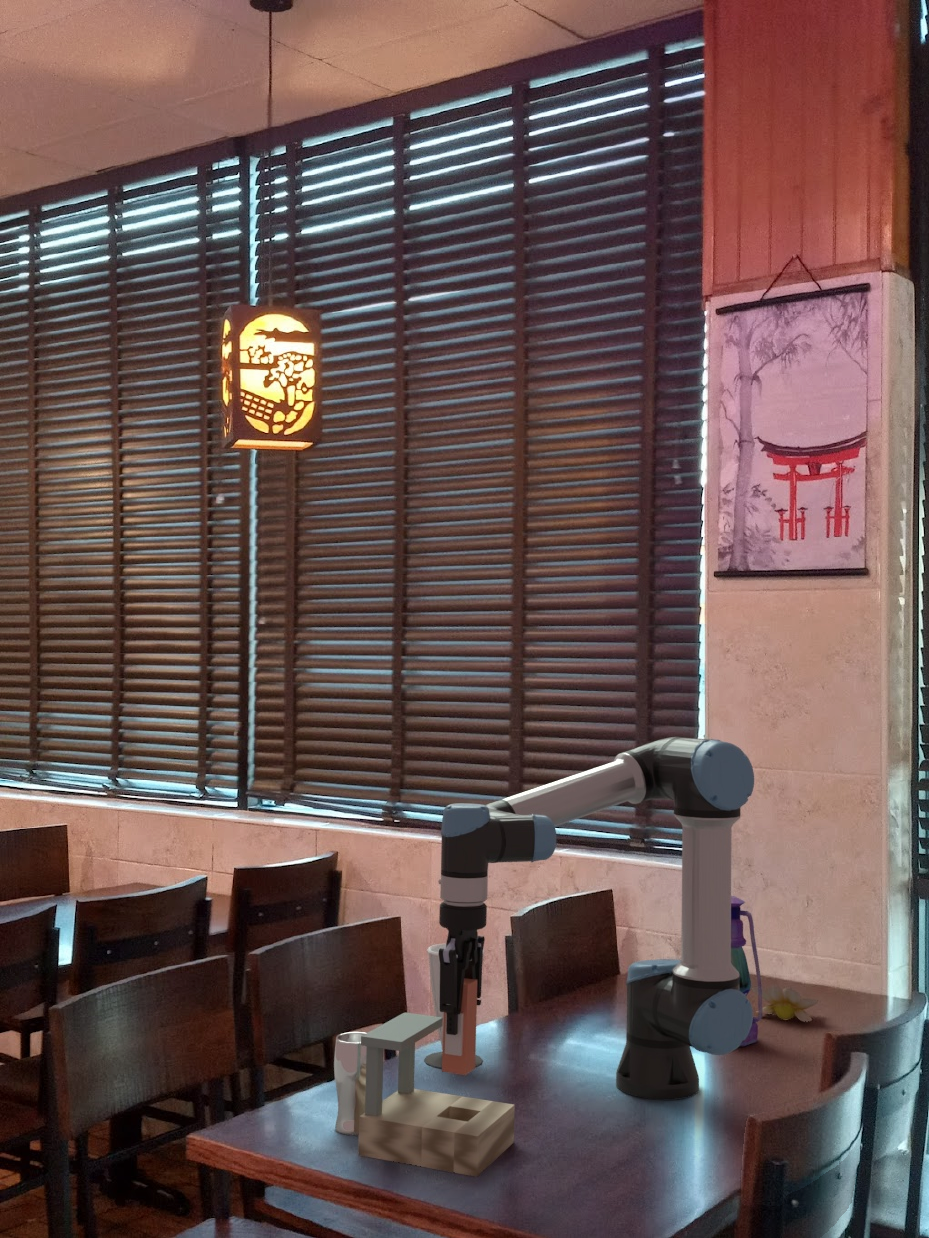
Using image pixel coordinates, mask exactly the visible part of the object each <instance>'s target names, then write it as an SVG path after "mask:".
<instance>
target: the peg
mask: <svg viewBox="0 0 929 1238" xmlns="http://www.w3.org/2000/svg"><path fill="white" fill-rule="evenodd" d="M477 1000H478V998H477V980H476V979H467V978H464V984H463V996H462V1006H461V1013H464V1014H463V1052H462V1055H461V1056H457V1055H450V1054H445V1027H446V1012H444V1016H443V1050H442V1052H443V1053H442V1069H441V1072H444V1073H449V1074H455V1075H463V1076H467V1075H468V1074H469V1073H470V1072H472V1071H474V1070H475V1069H476V1067H475V1055H476V1045H477V1010H478V1009H477V1007H478V1005H477Z"/></svg>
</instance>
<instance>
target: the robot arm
mask: <svg viewBox="0 0 929 1238" xmlns="http://www.w3.org/2000/svg"><path fill="white" fill-rule="evenodd" d="M754 773H755V772H754V769H753V765H752V761H751V760H750V759H749V757H748V755H747V754H746V753H745V752H744V751H743V750H742V749H741V748H740V747H738V746H737V745H735V744H733V743H731V742H727V741H722V740H720V739H714V738H711V739H710V738H693V737H686V736H685V737H684V736H672V737H666V738H661V739H658V740H655V741H652V742H648V743H645V744H643V745H640V746H637V747H635V748H632V749H629V750H627V751H626V750H625V751H623V752H621V753H618V754H617V755H616V756H614V759H613V761H610V762H609V763H606V764H605V763H604V764H603V765H600V766H597V767H593V768H590V769H588V770H584V771H581V772H579V773H576V774H573V775H570V776H567V777H564V778H561V779H559V780H556V781H553V782H549V783H547V784H543V785H540V786H537V787H534V788H532V789H528V790H526V791H523V792H520V793H517V794H514V795H511V796H508V797H506V798H503V799H499V800H496V801H493V802H490V803H487V804H482V803H481V804H480V803H471V802H470V803H462V802H461V803H460V802H459V803H451V804H448V805H446V806H445V807H444V809H443V811H442V813H443V814H442V820H441V830H440V836H441V846H440V847H441V853H440V855H441V856H440V878H439V880H438V884H439V885H440V893H439V894H440V899H441V900H442V902H441V903H440V904H439V920H438V921H439V922H438V923H439V925H440V927H442V928H444V929H446V930H447V932H448V933H447V938H446V942H445V943H446V948H445V949H442V948H440V949H439V960H440V1012H446V1027H445V1054H450V1055H457V1056H461V1055H462V1052H463V1014H464V1013H461V1006H462V996H463V984H464V978H467V979H476V980H477V1006H481V1004H482V999H481V997H482V982H483V981H482V977H483V964H482V959H483V960H484V954H483V949H484V945H485V940H486V939H485V936H484V935H483V936H482V935H479V933H478V930H483V929H484V928H485V927H486V926H487V917H488V916H487V914H488V913H487V912H488V911H487V909H488V908H487V907H488V906H487V905H486V903H485V902H486V901H487V900H488V888H489V887H488V886H489V885H488V882H489V880H488V877H489V875H488V873H489V872H488V871H489V864H496V863H520V862H521V863H523V862H525V863H526V862H528V863H529V862H530V863H534V862H538V861H546V860H549V859H550V858H551V857H552V856H553V854H554V853H555V850H556V847H557V830H556V827H558V826H562V825H564V824H566V823H570V822H572V821H574V820H578V819H581V818H584V817H587V816H589V815H591V814H595V813H598V812H601V811H604V810H606V809H610V808H612V807H616V806H617V805H620V804H623V803H626V802H629V803H630V804H633V805H637V804H640V803H643V802H646V801H651V800H667V801H668V800H669V801H673V817H674V818H675V819H676V820H678V821H679V823H680V824H681V827H682V828H681V830H682V832H681V833H682V834H681V835H682V836H681V838H682V841H681V843H682V845H681V859H682V860H681V947H680V948H681V949H680V950H681V952H680V955H681V957H680V958H681V959H673V958H671V959H668V958H664V959H663V958H661V959H644V960H639V961H635V962H633V963H631V964H630V965H629V966H628V970H627V978H626V982H625V984H626V1036H625V1037H626V1039H625V1040H626V1041H625V1045H624V1048H623V1052H622V1054H621V1058H620V1060H619V1064H618V1067H617V1069H616V1073H615V1077H616V1078H615V1086H616V1087H617V1088H618V1089H619V1090H621V1091H622V1092H623V1093H626V1094H629V1095H631V1096H633V1097H634V1096H635V1097H639V1098H643V1099H650V1100H651V1099H652V1100H662V1101H664V1100H667V1101H670V1100H681V1099H686V1098H690V1097H693V1096H695V1095H696V1094H698V1093H699V1091H700V1076H699V1073H698V1070H697V1065H696V1063H695V1059H694V1057H693V1053H692V1049H691V1047H692V1048H693V1049H695V1051H696V1050H697V1051H698V1052H701V1053H706V1054H711V1055H713V1056H722V1055H723V1056H725V1055H727V1054H730V1053H731V1052H734V1051H735V1050H737V1049H739V1047H741V1046H740V1044H741V1042H742V1041H743V1040H745V1039H746V1037H747V1036H748V1034H749V1031H750V1029H751V1026H752V1021H753V1017H754V1012H753V1011H754V1010H753V1006H752V1004H751V1001H750V999H748V997H747V996H745V995H744V994H743V993H742V992H741V991H739V972H738V971H737V970H736V969H735V968H734V966H733V965H732V964H731V896H732V832H733V831H732V829H733V826H734V824H735V823H737V821H739V820H740V819H741V808H742V807H743V806H744V805H745V804H747V802H748V801H749V797H751V796H752V794H753V791H754V787H755V774H754Z"/></svg>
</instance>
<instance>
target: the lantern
mask: <svg viewBox="0 0 929 1238" xmlns="http://www.w3.org/2000/svg"><path fill="white" fill-rule="evenodd" d="M743 904H746V901H744V900H742V899H741V898H739V897H737V896H734V895H731V964H732V965H733V966H734V968H735V969H736V970H737V971H738V972H739V991H741V992H742V993H743V994H744V995H745V996H746V997H747V996H748V994H749V992H750V991H751V988H752V981H751V976H750V971H749V966H748V961H747V957H746V953H745V951H744V949H743V948H744V947H745V946H746V945H747V940H746V938H744V922H743V920H742V919H741V916H743V917H747V920H748V925H749V934H750V935H749V936H750V942H751V949H752V950H751V951H752V955H753V961H754V965H755V973H756V981H757V986H758V995H757V996H758V997H757V998H758V999H757V1000H758V1002H757V1003H758V1010H757V1011H758V1016H757V1017H756V1016H755V1017H754V1016H753V1021H752V1026H751V1029H750V1031H749V1034H748V1036H747V1037H746V1039H745V1040H743V1041H742V1042H741V1044H740V1046H739V1047H746V1046H750V1044H755V1043H757V1042H758V1035H759V1029H758V1028H759V1025H758V1022H759V1021H760V1020H761V1019H763V1013H762V1008H763V998H762V988H761V987H762V978H761V976H762V975H761V970H760V964H759V963H760V961H759V957H758V956H759V955H758V949H757V944H756V938H755V937H756V935H755V928H754V927H755V926H754V920H753V919H754V918H753V915H752V913H751V912H749V911H748V910H742V909H741V906H742V905H743Z"/></svg>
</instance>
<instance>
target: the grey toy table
mask: <svg viewBox="0 0 929 1238" xmlns="http://www.w3.org/2000/svg"><path fill="white" fill-rule="evenodd" d="M442 1026H443V1017H436V1016H435V1015H427V1014H419V1013H412V1012H403V1013H401V1014H399V1015H397V1016H395V1017H393V1018H392V1019H390V1020H389V1021H386V1022H385V1023H383V1024H380V1025H379V1026H378V1027H375V1028H373V1029H372V1030H370V1031H368V1032H365V1033H366V1034H364V1035H362V1036H361V1045H362V1046H367V1050H366V1092H365V1115H369V1116H375V1117H377V1116H378V1115H380V1114H381V1113H382V1101H383V1093H384V1092H383V1089H384V1087H383V1083H384V1050H390V1051H391V1050H392V1051H397V1052H398V1066H397V1068H398V1070H397V1071H398V1073H397V1074H398V1075H397V1076H398V1078H397V1091H398V1093H403V1094H410V1093H412V1092H413V1091H414V1089H415V1060H416V1057H415V1055H416V1054H415V1053H416V1052H415V1051H416V1048H415V1047H416V1043H418V1042H419V1041H420V1040H422V1039H423V1038H425V1037H427V1036H429V1035H430V1034H432V1033H433V1032H435V1031H438V1028H440V1027H442Z"/></svg>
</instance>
